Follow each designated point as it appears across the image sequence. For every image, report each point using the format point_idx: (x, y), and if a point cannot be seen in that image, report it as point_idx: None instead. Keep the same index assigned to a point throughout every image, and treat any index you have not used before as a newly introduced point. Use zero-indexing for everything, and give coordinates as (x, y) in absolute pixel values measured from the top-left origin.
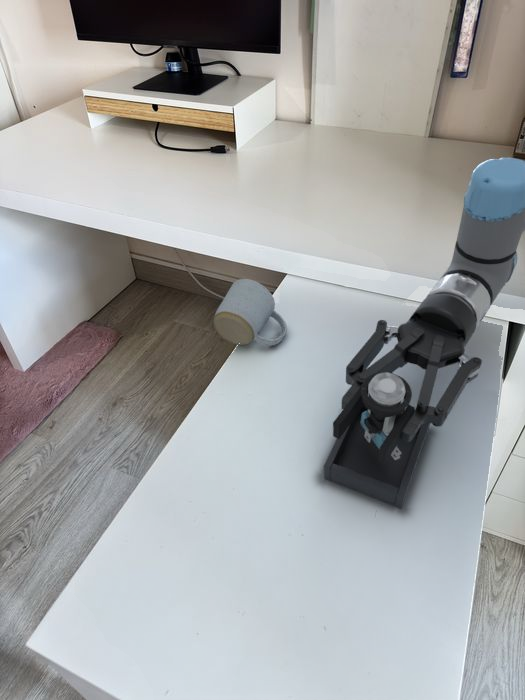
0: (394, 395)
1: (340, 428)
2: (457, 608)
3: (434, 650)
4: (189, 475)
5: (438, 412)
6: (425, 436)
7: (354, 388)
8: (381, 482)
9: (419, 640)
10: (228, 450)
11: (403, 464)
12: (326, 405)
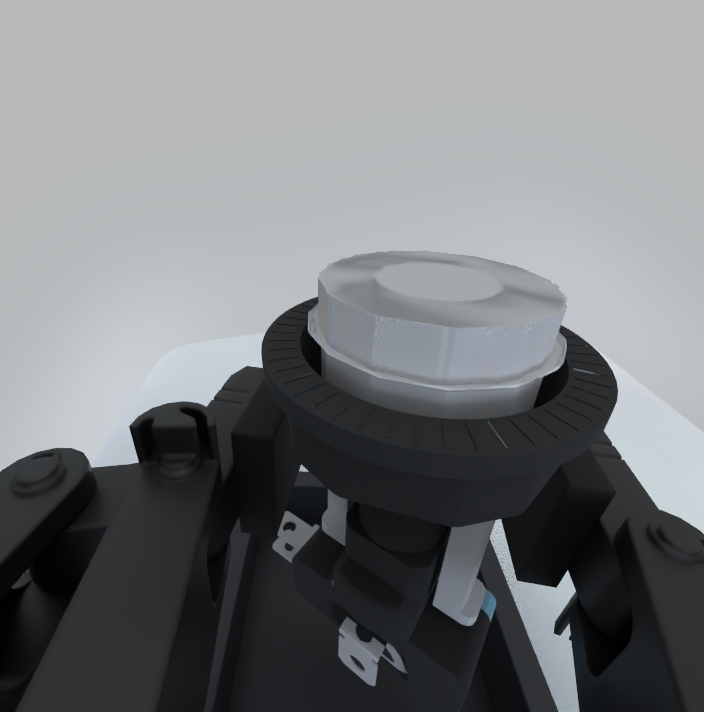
0: (362, 262)
1: None
2: (142, 403)
3: (186, 366)
4: (651, 438)
5: (68, 452)
6: None
7: (618, 486)
8: (310, 484)
9: (206, 368)
10: (676, 503)
11: (258, 648)
12: None
